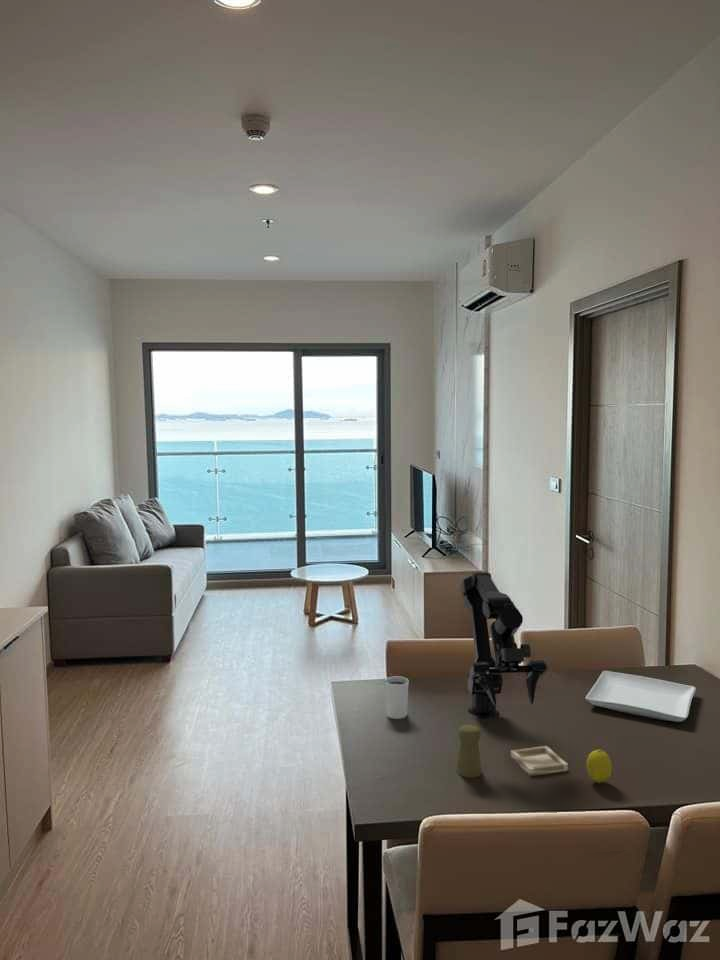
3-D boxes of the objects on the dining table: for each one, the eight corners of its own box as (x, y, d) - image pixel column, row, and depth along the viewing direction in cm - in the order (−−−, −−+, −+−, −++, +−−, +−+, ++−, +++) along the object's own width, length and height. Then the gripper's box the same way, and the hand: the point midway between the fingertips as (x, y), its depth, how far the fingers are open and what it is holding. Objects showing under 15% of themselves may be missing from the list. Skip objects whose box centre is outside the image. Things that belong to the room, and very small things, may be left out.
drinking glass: (403, 708, 209) (403, 675, 208) (411, 717, 203) (412, 683, 202) (381, 711, 207) (381, 677, 206) (389, 720, 201) (389, 686, 200)
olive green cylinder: (466, 780, 169) (466, 734, 168) (451, 768, 174) (451, 724, 173) (487, 774, 171) (487, 729, 170) (471, 763, 177) (472, 719, 176)
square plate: (686, 730, 196) (687, 716, 195) (583, 710, 209) (584, 697, 209) (696, 696, 219) (696, 684, 219) (603, 680, 233) (603, 668, 232)
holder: (510, 756, 180) (510, 750, 180) (546, 751, 183) (546, 745, 182) (529, 776, 170) (530, 769, 170) (567, 770, 173) (567, 764, 173)
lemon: (582, 777, 170) (583, 744, 169) (604, 776, 170) (606, 743, 170) (591, 789, 164) (592, 755, 164) (615, 788, 165) (616, 754, 164)
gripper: (474, 632, 178) (483, 696, 169) (548, 631, 179) (560, 694, 171) (465, 648, 187) (473, 709, 179) (536, 646, 189) (547, 706, 180)
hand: (513, 704), depth 177 cm, fingers open, 9 cm apart
